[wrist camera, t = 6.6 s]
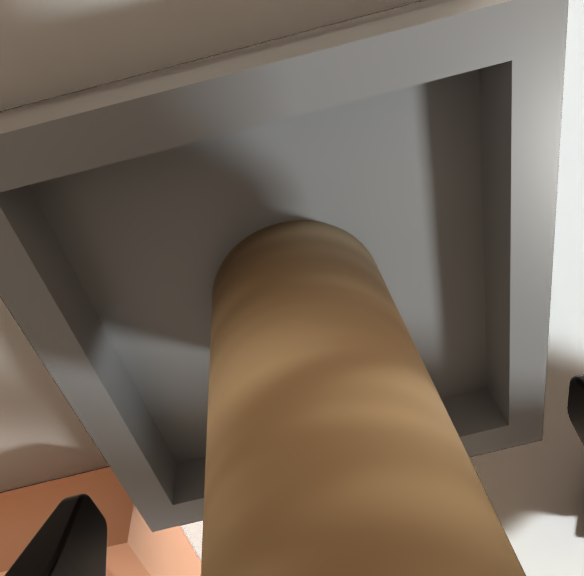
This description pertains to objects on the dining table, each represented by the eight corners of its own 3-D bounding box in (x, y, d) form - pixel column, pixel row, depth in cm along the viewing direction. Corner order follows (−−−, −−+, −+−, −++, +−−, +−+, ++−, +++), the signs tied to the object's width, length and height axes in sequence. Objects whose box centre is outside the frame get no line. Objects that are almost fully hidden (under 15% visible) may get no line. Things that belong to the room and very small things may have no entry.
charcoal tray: (505, -21, 11) (569, -15, 9) (504, 382, 18) (541, 440, 16) (-33, 120, 12) (-90, 157, 9) (160, 464, 18) (151, 532, 16)
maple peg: (368, 201, 13) (655, 705, 4) (389, 341, 15) (598, 841, 7) (189, 245, 13) (116, 821, 4) (238, 377, 15) (253, 912, 7)
